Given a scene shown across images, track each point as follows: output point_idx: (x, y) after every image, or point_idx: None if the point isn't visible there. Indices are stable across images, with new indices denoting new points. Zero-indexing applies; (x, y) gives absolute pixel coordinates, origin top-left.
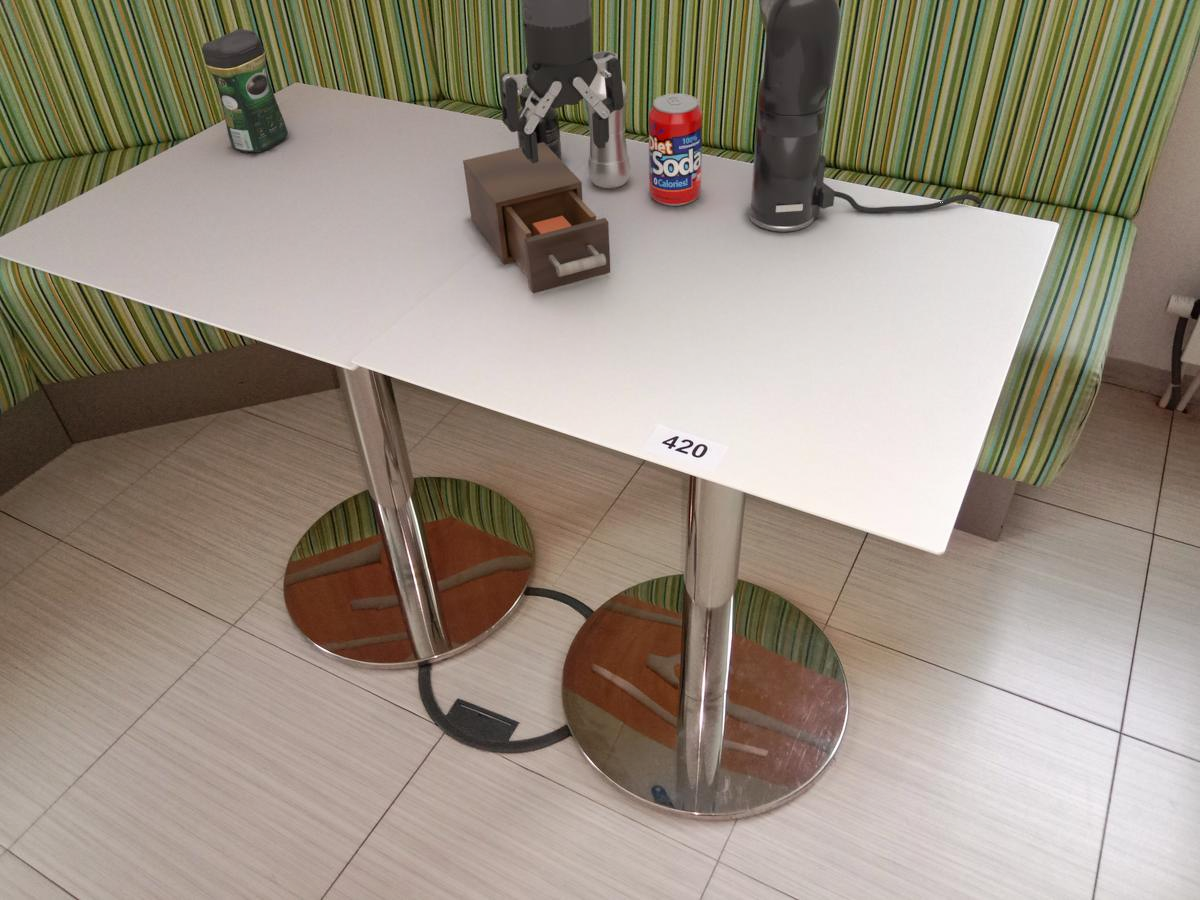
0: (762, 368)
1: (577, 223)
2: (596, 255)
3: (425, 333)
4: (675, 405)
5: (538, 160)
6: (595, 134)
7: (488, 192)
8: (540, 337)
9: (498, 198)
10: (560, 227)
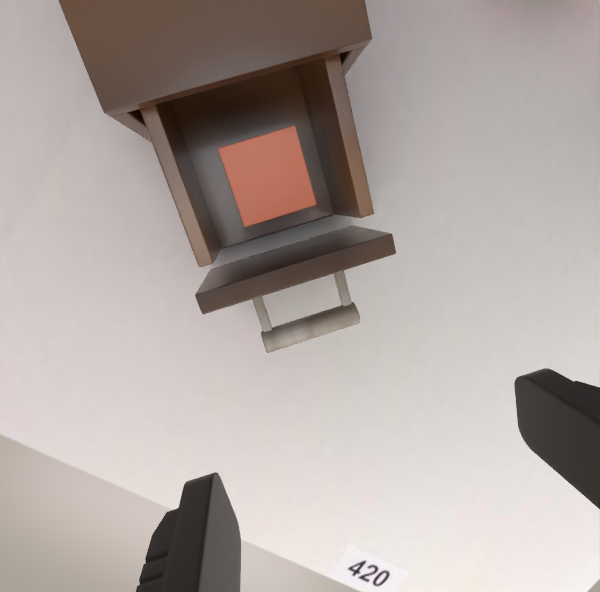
0: (485, 467)
1: (324, 132)
2: (344, 319)
3: (29, 350)
4: (375, 519)
5: (240, 546)
6: (561, 429)
7: (72, 26)
8: (225, 382)
9: (110, 84)
10: (284, 187)
